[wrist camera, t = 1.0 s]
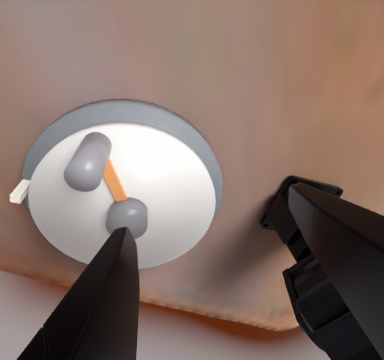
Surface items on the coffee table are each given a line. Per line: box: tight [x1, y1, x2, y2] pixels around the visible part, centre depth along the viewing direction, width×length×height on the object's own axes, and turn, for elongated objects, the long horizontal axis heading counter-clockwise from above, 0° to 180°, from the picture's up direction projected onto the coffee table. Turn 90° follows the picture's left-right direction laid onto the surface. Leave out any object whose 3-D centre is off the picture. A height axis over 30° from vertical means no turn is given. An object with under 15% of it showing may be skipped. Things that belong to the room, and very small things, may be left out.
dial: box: [28, 121, 216, 269], centre depth 18 cm, size 14×14×5 cm
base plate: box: [10, 99, 223, 229], centre depth 20 cm, size 16×16×4 cm
